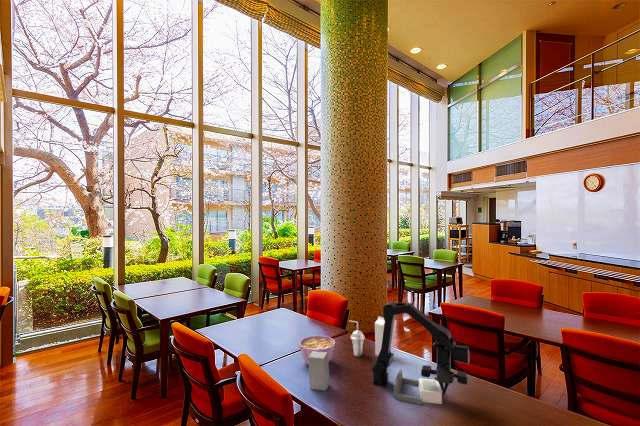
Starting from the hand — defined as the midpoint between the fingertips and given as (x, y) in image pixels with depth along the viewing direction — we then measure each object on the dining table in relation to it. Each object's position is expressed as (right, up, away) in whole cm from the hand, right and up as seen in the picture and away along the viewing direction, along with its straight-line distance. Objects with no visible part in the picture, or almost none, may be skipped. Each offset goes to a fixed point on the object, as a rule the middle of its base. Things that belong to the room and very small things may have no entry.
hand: (444, 393), depth 142 cm
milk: (-19, -3, +44) cm, 48 cm away
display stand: (-13, -3, +6) cm, 14 cm away
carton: (-5, -3, +3) cm, 7 cm away
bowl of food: (-56, -4, +36) cm, 67 cm away
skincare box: (-55, -4, +12) cm, 57 cm away
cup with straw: (-33, -3, +47) cm, 57 cm away
